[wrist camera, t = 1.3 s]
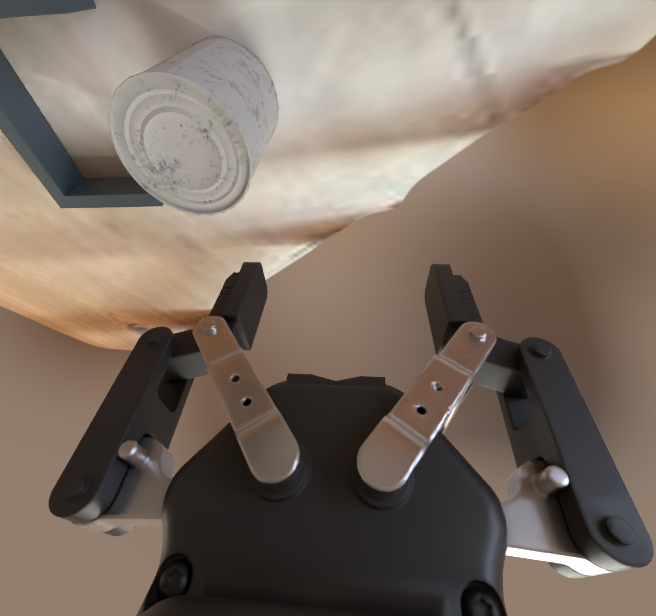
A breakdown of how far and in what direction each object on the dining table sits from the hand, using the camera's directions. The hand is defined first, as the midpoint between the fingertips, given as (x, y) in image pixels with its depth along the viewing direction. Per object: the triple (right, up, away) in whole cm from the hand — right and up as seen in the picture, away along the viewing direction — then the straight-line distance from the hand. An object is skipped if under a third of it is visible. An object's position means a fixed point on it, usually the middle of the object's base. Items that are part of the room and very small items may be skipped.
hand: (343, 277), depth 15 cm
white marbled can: (-10, +19, +15) cm, 26 cm away
